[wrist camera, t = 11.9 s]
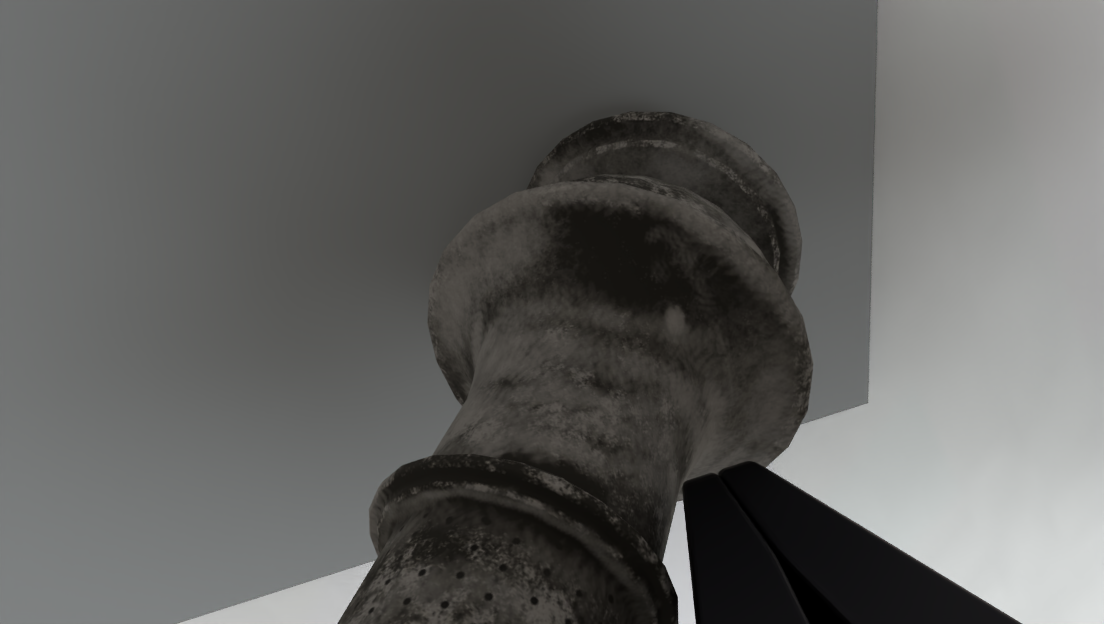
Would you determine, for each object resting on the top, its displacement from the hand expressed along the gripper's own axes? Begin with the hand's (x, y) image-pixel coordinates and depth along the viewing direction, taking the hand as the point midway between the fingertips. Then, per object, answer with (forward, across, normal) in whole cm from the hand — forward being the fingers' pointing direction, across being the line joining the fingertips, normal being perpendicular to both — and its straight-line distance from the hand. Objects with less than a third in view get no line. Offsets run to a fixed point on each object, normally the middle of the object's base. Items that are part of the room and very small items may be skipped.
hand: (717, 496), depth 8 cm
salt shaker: (+6, -2, 0) cm, 7 cm away
